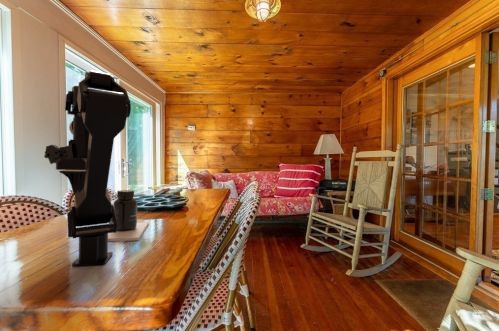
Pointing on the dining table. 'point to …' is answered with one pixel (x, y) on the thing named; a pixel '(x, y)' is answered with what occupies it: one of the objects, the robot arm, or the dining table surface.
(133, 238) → the pale grey mat
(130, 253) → the dining table surface
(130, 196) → the supplement bottle
